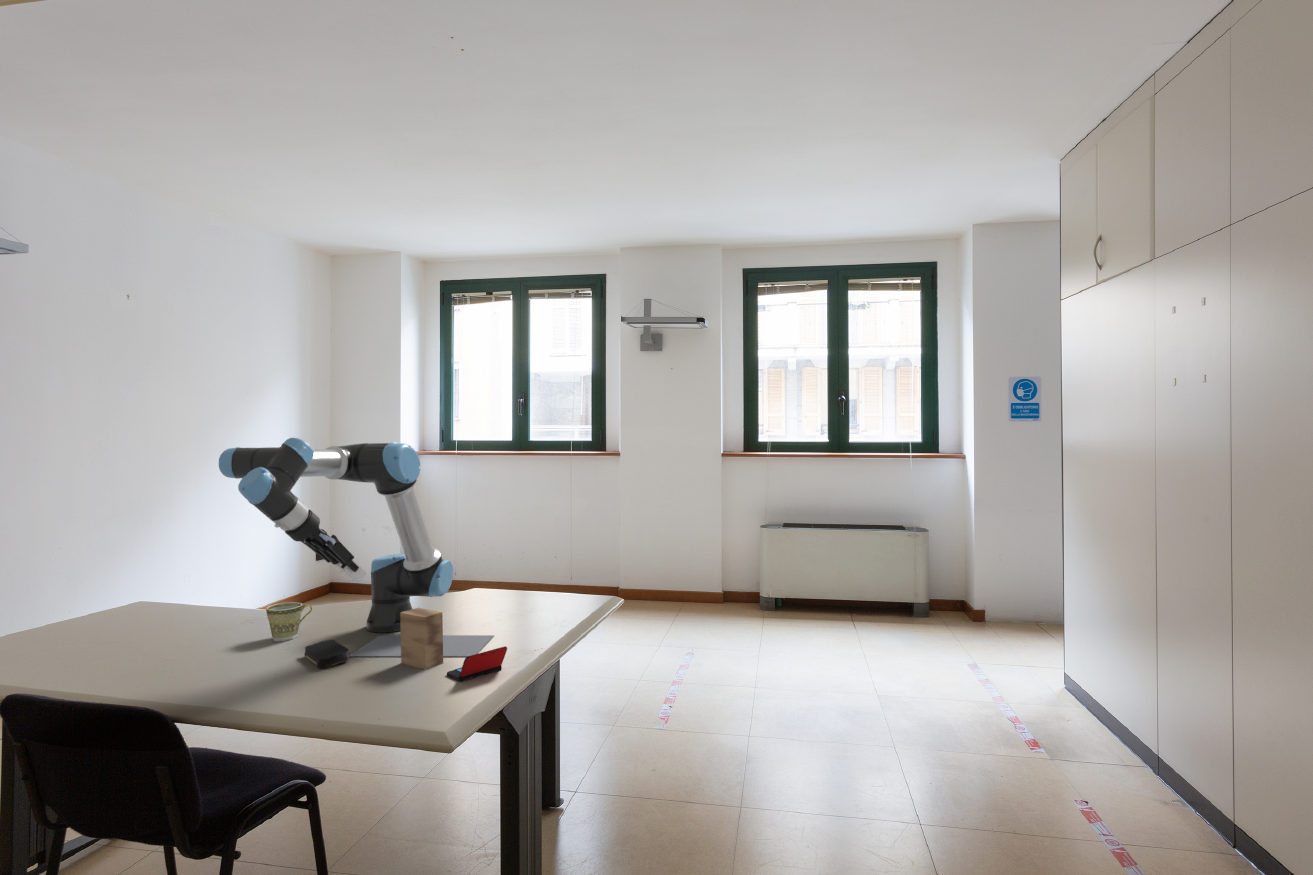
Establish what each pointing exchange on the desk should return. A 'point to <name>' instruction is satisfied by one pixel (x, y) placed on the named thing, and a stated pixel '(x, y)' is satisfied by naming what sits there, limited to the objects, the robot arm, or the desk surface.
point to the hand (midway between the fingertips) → (359, 576)
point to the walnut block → (421, 638)
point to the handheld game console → (479, 664)
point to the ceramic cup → (285, 620)
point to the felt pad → (451, 646)
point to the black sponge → (327, 653)
